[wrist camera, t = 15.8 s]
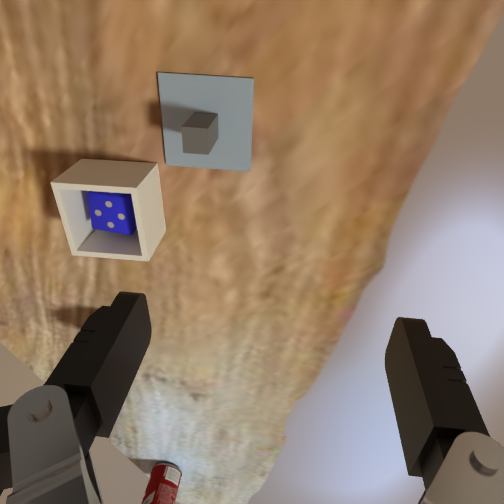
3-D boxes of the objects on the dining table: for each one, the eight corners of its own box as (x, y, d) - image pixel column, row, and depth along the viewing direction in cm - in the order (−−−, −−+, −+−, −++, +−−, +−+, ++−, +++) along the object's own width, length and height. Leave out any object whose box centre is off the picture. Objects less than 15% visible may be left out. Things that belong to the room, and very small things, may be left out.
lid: (160, 71, 40) (138, 82, 35) (254, 77, 39) (247, 89, 34) (168, 162, 46) (150, 184, 41) (251, 168, 45) (244, 191, 40)
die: (146, 216, 50) (132, 236, 46) (108, 209, 50) (91, 229, 46) (145, 181, 47) (130, 199, 43) (105, 174, 47) (86, 191, 43)
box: (81, 158, 46) (50, 182, 40) (157, 163, 45) (136, 188, 40) (98, 225, 51) (72, 255, 46) (166, 230, 51) (148, 261, 45)
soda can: (170, 458, 85) (153, 519, 75) (188, 472, 88) (174, 533, 78) (147, 463, 87) (128, 523, 78) (165, 477, 90) (149, 536, 80)
